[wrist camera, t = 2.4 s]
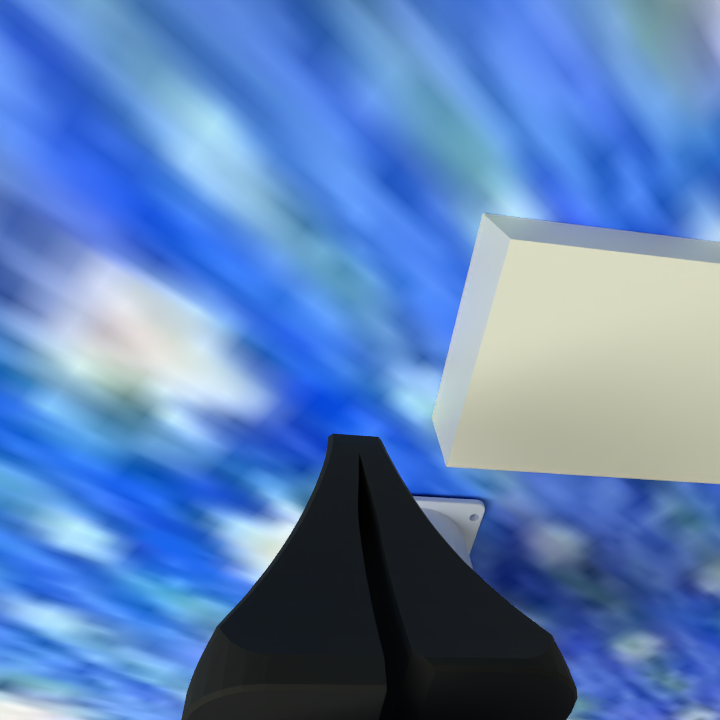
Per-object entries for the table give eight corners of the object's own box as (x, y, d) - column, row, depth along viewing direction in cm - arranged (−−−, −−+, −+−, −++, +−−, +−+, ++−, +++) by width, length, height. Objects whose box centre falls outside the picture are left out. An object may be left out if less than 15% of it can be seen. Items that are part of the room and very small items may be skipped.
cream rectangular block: (692, 437, 26) (740, 485, 23) (431, 417, 25) (446, 466, 22) (799, 252, 21) (877, 282, 18) (482, 213, 20) (511, 239, 17)
